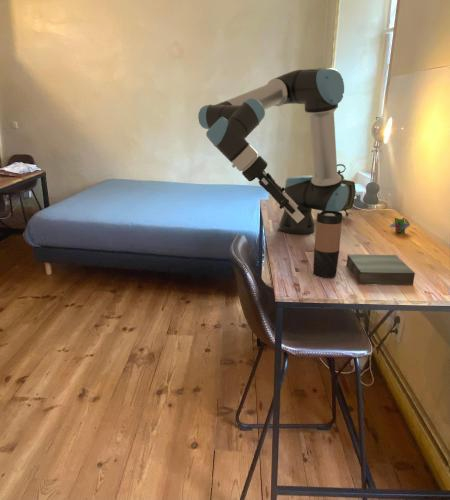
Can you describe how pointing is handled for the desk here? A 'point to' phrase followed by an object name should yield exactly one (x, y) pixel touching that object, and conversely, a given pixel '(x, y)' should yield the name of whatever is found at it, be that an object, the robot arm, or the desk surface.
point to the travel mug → (327, 243)
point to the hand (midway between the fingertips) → (297, 214)
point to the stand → (380, 269)
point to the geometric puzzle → (400, 225)
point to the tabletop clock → (350, 194)
